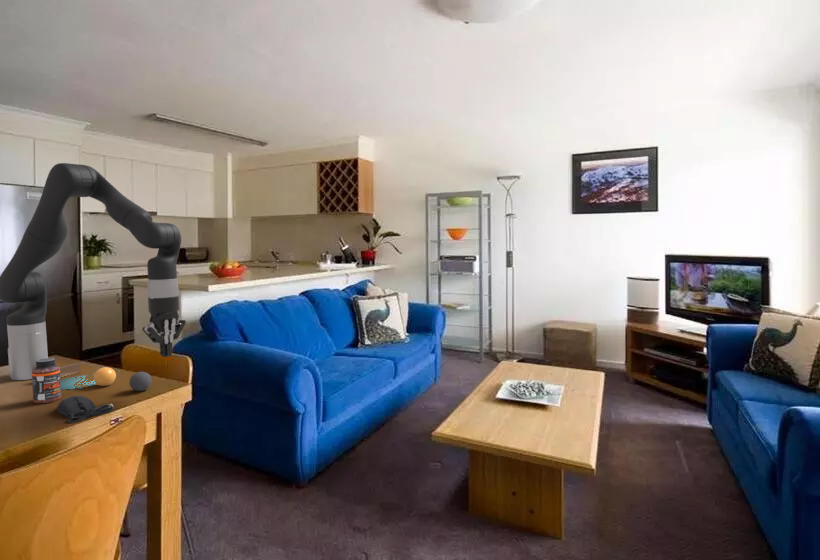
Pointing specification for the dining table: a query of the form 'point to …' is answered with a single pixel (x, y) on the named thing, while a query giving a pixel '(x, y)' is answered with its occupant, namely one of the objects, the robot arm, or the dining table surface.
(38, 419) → the dining table surface
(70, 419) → the computer mouse
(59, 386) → the supplement bottle
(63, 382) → the teal mark
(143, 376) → the grey ball
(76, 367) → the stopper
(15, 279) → the robot arm
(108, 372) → the orange ball
